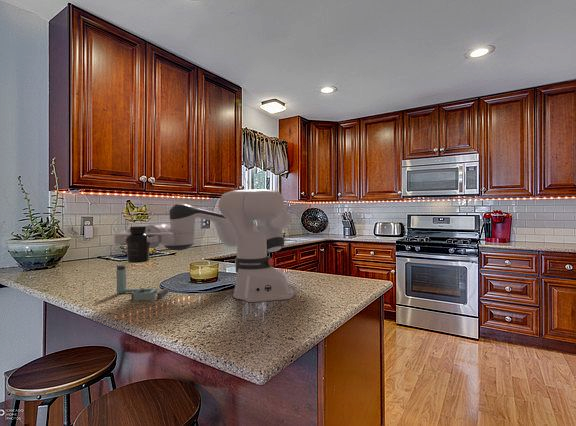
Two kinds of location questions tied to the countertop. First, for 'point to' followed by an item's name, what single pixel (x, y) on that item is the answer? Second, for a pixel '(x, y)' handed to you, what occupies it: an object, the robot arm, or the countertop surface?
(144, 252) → the supplement bottle
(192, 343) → the countertop surface
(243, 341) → the countertop surface
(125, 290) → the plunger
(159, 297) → the channel
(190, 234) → the robot arm
